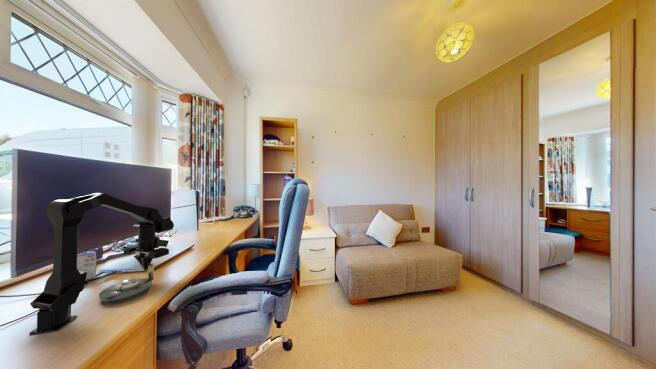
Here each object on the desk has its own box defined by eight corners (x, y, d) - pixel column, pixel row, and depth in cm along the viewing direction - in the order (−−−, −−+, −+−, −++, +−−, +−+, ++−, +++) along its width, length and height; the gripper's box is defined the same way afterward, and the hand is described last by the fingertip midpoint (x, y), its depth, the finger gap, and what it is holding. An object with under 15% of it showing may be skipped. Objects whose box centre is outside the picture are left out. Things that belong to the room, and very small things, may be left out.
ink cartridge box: (95, 275, 96) (95, 245, 96) (96, 278, 93) (97, 247, 93) (61, 283, 88) (61, 251, 88) (61, 287, 85) (62, 253, 85)
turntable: (116, 304, 70) (116, 283, 71) (88, 298, 74) (89, 278, 74) (165, 282, 87) (165, 265, 87) (141, 277, 91) (141, 261, 91)
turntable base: (137, 300, 75) (137, 297, 75) (92, 306, 71) (92, 303, 71) (155, 284, 88) (155, 281, 88) (117, 288, 84) (117, 285, 84)
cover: (122, 292, 75) (122, 285, 75) (110, 290, 77) (110, 283, 77) (143, 284, 82) (143, 277, 82) (131, 281, 84) (131, 275, 84)
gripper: (180, 233, 94) (179, 265, 94) (150, 230, 98) (149, 260, 98) (156, 239, 83) (154, 275, 83) (123, 235, 87) (122, 270, 87)
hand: (146, 270), depth 88 cm, fingers closed
